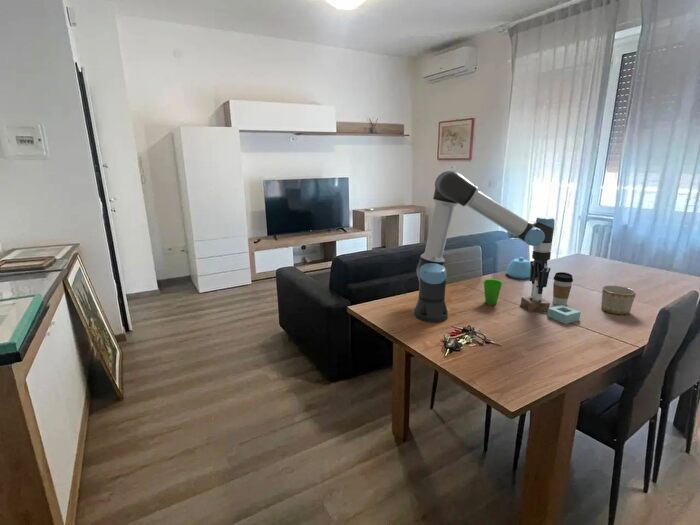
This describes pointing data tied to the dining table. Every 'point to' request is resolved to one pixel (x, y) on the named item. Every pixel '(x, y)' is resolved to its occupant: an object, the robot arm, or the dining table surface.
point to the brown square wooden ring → (535, 304)
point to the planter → (617, 299)
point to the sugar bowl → (519, 268)
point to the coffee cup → (561, 288)
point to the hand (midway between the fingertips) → (536, 298)
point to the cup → (492, 290)
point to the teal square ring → (563, 314)
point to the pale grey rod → (535, 289)
